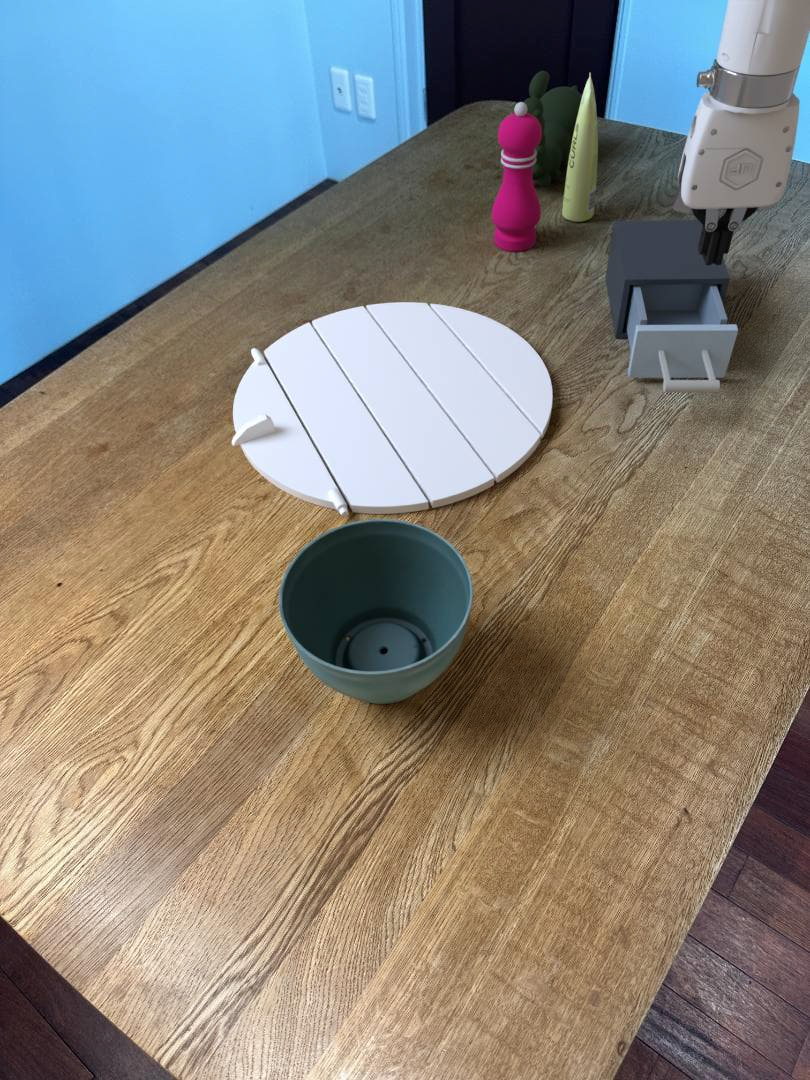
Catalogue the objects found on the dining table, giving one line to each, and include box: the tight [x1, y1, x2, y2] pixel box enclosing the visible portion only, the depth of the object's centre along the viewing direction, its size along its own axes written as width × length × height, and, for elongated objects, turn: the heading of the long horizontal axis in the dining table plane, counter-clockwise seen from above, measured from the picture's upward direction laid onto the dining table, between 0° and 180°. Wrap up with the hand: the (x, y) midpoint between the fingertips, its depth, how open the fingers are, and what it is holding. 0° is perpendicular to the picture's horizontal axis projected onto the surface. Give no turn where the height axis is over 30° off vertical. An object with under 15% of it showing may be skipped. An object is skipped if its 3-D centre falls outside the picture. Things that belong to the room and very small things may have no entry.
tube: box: [561, 71, 599, 223], centre depth 121 cm, size 6×5×20 cm
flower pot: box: [278, 518, 474, 705], centre depth 71 cm, size 16×16×11 cm
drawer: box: [625, 284, 739, 394], centre depth 98 cm, size 21×11×7 cm, turn 176°
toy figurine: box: [522, 70, 583, 188], centre depth 133 cm, size 9×19×25 cm
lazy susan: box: [231, 301, 554, 518], centre depth 99 cm, size 40×39×3 cm
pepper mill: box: [491, 101, 542, 253], centre depth 116 cm, size 7×7×20 cm
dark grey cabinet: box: [605, 219, 731, 339], centre depth 107 cm, size 15×13×9 cm
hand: (710, 258), depth 91 cm, fingers closed
